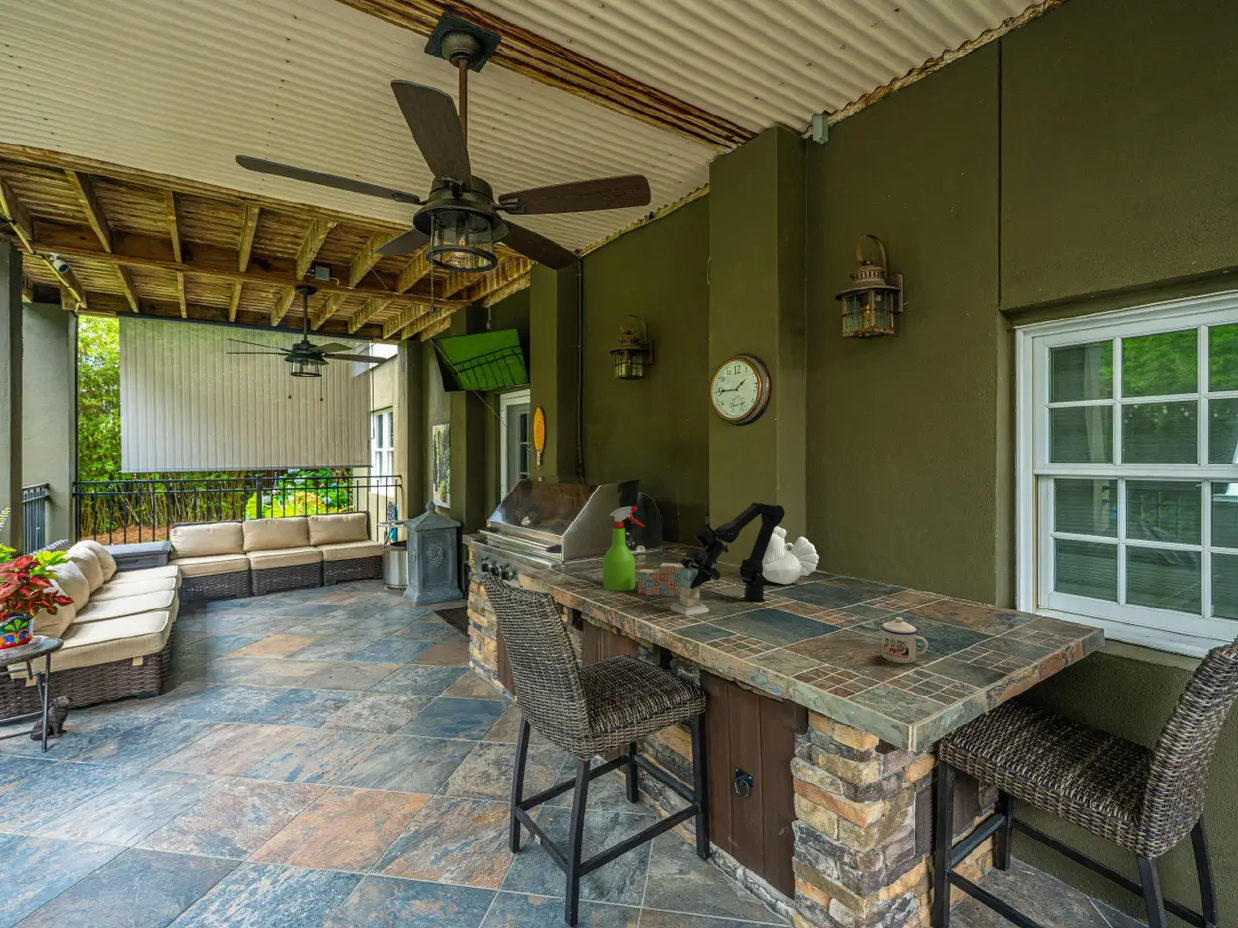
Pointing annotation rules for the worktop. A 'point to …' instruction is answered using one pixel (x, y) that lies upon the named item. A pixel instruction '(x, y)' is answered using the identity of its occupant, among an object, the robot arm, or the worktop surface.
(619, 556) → the spray bottle
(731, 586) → the worktop surface
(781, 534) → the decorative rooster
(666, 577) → the stack of blocks
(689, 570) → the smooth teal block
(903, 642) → the teacup with lid
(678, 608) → the base plate
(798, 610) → the worktop surface
